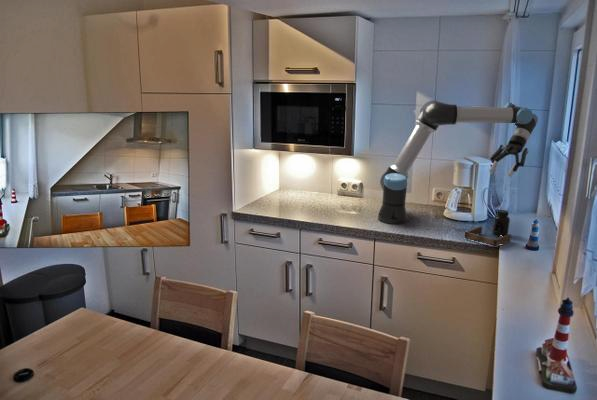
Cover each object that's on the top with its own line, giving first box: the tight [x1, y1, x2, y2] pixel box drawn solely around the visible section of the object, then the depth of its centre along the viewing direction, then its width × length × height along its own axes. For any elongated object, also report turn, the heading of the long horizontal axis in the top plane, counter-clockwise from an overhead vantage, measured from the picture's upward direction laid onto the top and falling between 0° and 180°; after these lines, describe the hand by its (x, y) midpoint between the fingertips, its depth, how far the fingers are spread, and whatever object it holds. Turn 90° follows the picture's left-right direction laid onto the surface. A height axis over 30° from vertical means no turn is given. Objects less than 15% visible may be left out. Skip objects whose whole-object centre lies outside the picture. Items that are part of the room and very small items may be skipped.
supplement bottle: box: [492, 209, 511, 237], centre depth 222 cm, size 7×7×12 cm
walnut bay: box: [464, 226, 512, 246], centre depth 215 cm, size 15×14×4 cm
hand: (499, 174), depth 230 cm, fingers open, 9 cm apart
